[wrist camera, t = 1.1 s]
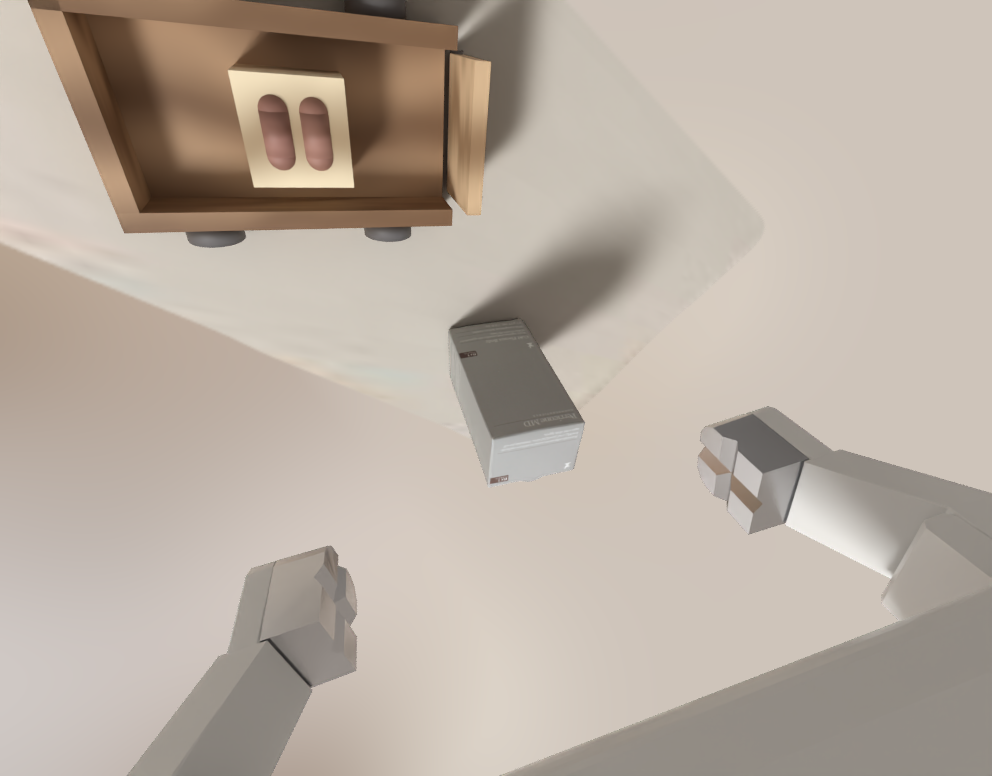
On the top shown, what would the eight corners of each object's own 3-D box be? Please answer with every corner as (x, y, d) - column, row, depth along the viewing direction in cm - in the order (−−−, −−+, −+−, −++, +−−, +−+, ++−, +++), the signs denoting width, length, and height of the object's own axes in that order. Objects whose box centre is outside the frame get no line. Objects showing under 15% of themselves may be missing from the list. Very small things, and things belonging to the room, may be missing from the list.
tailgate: (448, 49, 31) (475, 56, 27) (462, 50, 32) (491, 57, 27) (445, 192, 37) (467, 218, 32) (457, 192, 37) (480, 217, 33)
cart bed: (39, -58, 23) (-2, -69, 20) (441, -3, 30) (458, -5, 26) (149, 230, 32) (133, 254, 29) (438, 224, 39) (451, 243, 36)
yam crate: (234, 63, 28) (226, 71, 24) (338, 71, 29) (344, 79, 26) (258, 170, 31) (253, 189, 28) (348, 171, 33) (354, 189, 30)
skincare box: (521, 316, 48) (593, 413, 36) (516, 370, 52) (579, 472, 41) (442, 327, 45) (493, 435, 34) (445, 383, 50) (490, 495, 38)
